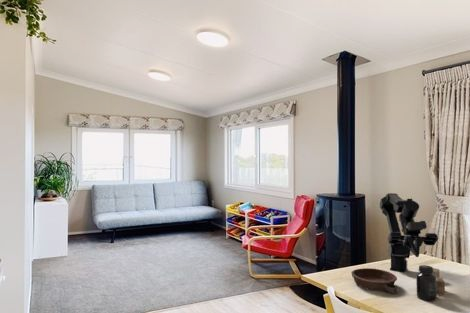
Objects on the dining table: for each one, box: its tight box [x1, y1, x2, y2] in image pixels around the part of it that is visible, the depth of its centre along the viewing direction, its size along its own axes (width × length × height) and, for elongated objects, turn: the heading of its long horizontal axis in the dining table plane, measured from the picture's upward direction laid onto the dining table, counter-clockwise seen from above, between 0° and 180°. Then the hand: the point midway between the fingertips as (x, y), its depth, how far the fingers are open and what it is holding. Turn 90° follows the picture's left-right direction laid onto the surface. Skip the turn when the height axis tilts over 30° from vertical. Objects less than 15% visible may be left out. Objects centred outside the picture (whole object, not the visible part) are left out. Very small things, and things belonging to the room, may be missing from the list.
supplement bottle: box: [415, 264, 438, 302], centre depth 133 cm, size 7×7×12 cm
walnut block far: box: [433, 267, 440, 278], centre depth 153 cm, size 5×5×5 cm
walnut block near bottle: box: [436, 277, 446, 295], centre depth 140 cm, size 5×5×5 cm
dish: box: [351, 267, 398, 293], centre depth 147 cm, size 18×22×5 cm
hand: (417, 256), depth 142 cm, fingers closed
